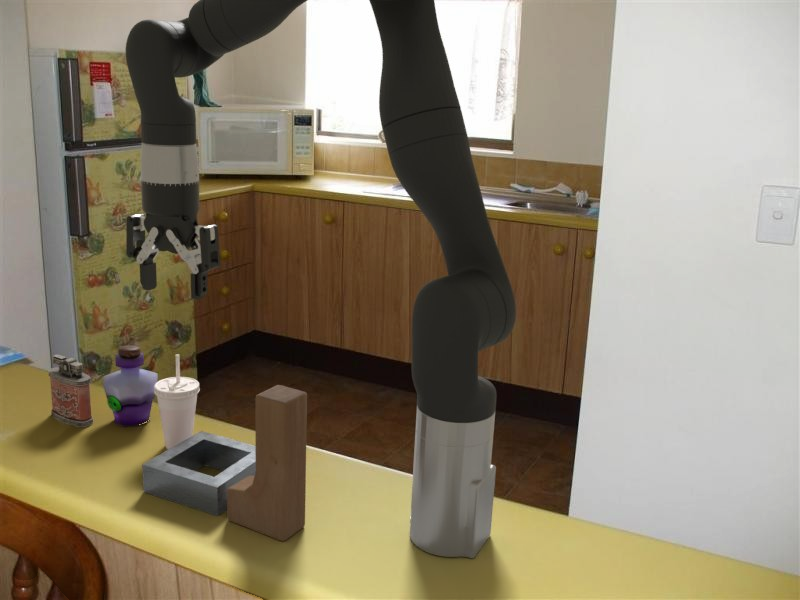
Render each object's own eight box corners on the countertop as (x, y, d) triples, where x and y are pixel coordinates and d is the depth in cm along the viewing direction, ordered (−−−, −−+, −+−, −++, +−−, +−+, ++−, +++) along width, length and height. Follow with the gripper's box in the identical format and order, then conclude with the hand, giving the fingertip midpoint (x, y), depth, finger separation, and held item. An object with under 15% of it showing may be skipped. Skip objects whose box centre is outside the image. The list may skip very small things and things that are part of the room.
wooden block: (226, 520, 105) (224, 385, 100) (249, 505, 109) (248, 374, 104) (283, 543, 101) (285, 403, 96) (306, 526, 105) (308, 391, 100)
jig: (271, 476, 117) (271, 450, 116) (217, 516, 106) (217, 487, 105) (201, 456, 122) (201, 430, 120) (143, 492, 111) (142, 464, 110)
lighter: (98, 421, 131) (94, 361, 128) (80, 429, 128) (76, 367, 126) (64, 409, 135) (60, 349, 132) (46, 415, 132) (41, 355, 130)
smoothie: (206, 438, 127) (205, 350, 123) (192, 457, 121) (190, 365, 117) (165, 434, 128) (162, 347, 124) (149, 453, 122) (145, 362, 118)
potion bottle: (93, 428, 129) (88, 354, 125) (118, 406, 137) (114, 336, 134) (147, 433, 128) (144, 359, 125) (169, 411, 136) (167, 340, 133)
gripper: (230, 179, 114) (231, 295, 118) (147, 169, 120) (151, 280, 124) (195, 186, 107) (197, 308, 112) (109, 174, 113) (114, 291, 118)
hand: (173, 293), depth 118 cm, fingers open, 8 cm apart
